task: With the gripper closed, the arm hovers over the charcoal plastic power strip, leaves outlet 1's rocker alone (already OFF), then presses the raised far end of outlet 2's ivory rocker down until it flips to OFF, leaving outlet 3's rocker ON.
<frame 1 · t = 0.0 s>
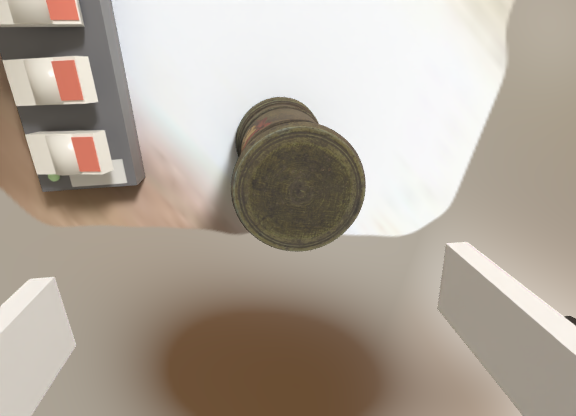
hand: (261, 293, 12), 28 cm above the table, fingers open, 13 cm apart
rocker 3: (71, 152, 32), point 5 cm above the table, hinge at 15.0°
rocker 2: (52, 81, 30), point 5 cm above the table, hinge at 15.0°
power strip: (78, 80, 34), on the table
container: (277, 140, 39), on the table
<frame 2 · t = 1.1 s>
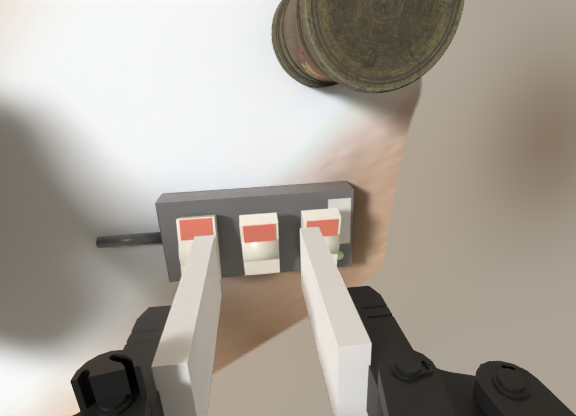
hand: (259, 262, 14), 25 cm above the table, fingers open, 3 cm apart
rocker 1: (199, 249, 35), point 5 cm above the table, hinge at -15.0°
rocker 3: (319, 239, 36), point 5 cm above the table, hinge at 15.0°
rocker 2: (260, 244, 36), point 5 cm above the table, hinge at 15.0°
power strip: (259, 225, 40), on the table
container: (318, 37, 34), on the table
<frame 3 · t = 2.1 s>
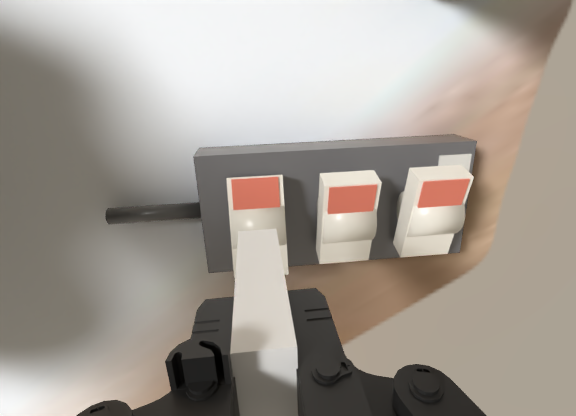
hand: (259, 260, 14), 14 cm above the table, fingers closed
rocker 1: (258, 225, 24), point 5 cm above the table, hinge at -15.0°
rocker 3: (428, 212, 25), point 5 cm above the table, hinge at 15.0°
rocker 2: (345, 218, 25), point 5 cm above the table, hinge at 15.0°
power strip: (330, 195, 29), on the table
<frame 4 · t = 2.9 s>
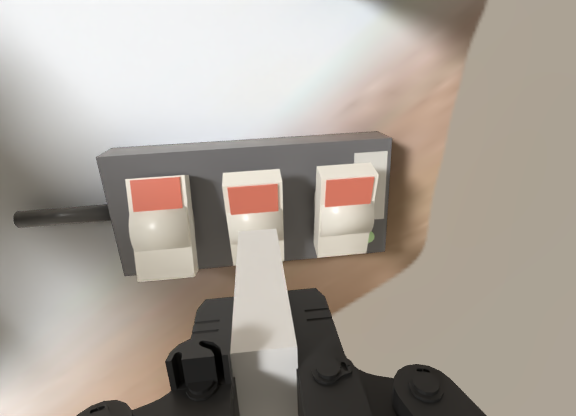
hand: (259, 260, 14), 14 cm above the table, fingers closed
rocker 1: (164, 226, 23), point 5 cm above the table, hinge at -15.0°
rocker 3: (342, 211, 25), point 5 cm above the table, hinge at 15.0°
rocker 2: (255, 218, 24), point 5 cm above the table, hinge at 15.0°
power strip: (253, 195, 29), on the table
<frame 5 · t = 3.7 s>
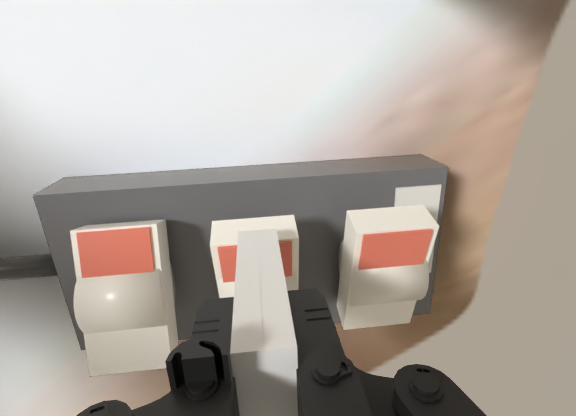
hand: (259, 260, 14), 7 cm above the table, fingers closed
rocker 1: (129, 294, 17), point 5 cm above the table, hinge at -15.0°
rocker 3: (380, 269, 18), point 5 cm above the table, hinge at 15.0°
rocker 2: (258, 281, 17), point 5 cm above the table, hinge at 15.0°, touching gripper
power strip: (256, 237, 22), on the table
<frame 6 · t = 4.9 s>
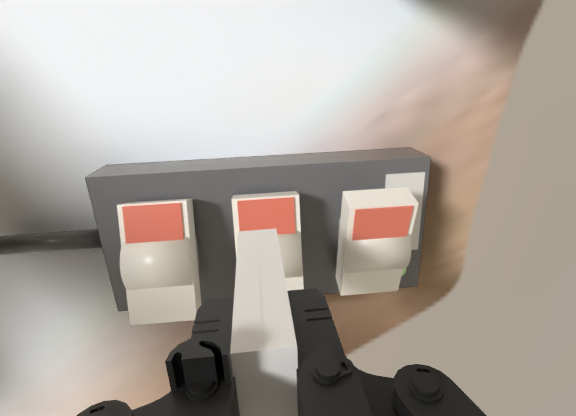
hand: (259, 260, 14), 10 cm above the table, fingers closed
rocker 1: (162, 259, 20), point 5 cm above the table, hinge at -15.0°
rocker 3: (371, 243, 21), point 5 cm above the table, hinge at 15.0°
rocker 2: (269, 251, 20), point 5 cm above the table, hinge at -10.5°
power strip: (266, 219, 25), on the table
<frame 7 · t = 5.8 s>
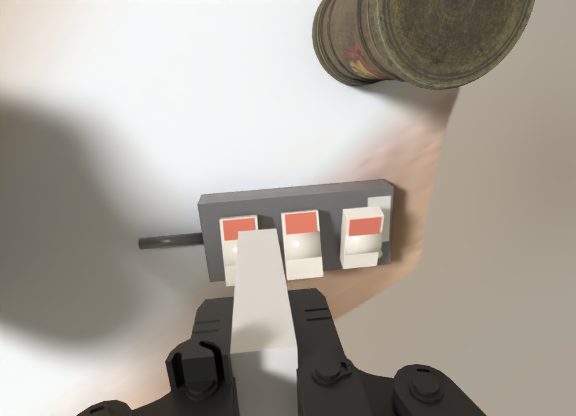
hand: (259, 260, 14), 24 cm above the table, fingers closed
rocker 1: (242, 249, 36), point 5 cm above the table, hinge at -15.0°
rocker 3: (360, 237, 36), point 5 cm above the table, hinge at 15.0°
rocker 2: (301, 244, 36), point 5 cm above the table, hinge at -17.1°
power strip: (296, 224, 40), on the table
container: (357, 36, 34), on the table
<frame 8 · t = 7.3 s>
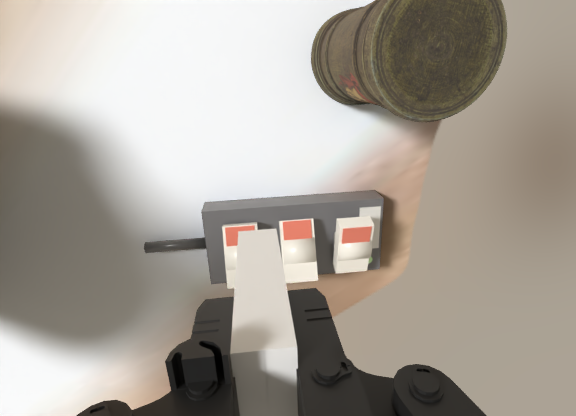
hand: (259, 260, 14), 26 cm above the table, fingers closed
rocker 1: (242, 254, 38), point 5 cm above the table, hinge at -15.0°
rocker 3: (352, 245, 39), point 5 cm above the table, hinge at 15.0°
rocker 2: (297, 250, 39), point 5 cm above the table, hinge at -23.0°, touching power strip
power strip: (292, 231, 43), on the table
container: (352, 59, 37), on the table
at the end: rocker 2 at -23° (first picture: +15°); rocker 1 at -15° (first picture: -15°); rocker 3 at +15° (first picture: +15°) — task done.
